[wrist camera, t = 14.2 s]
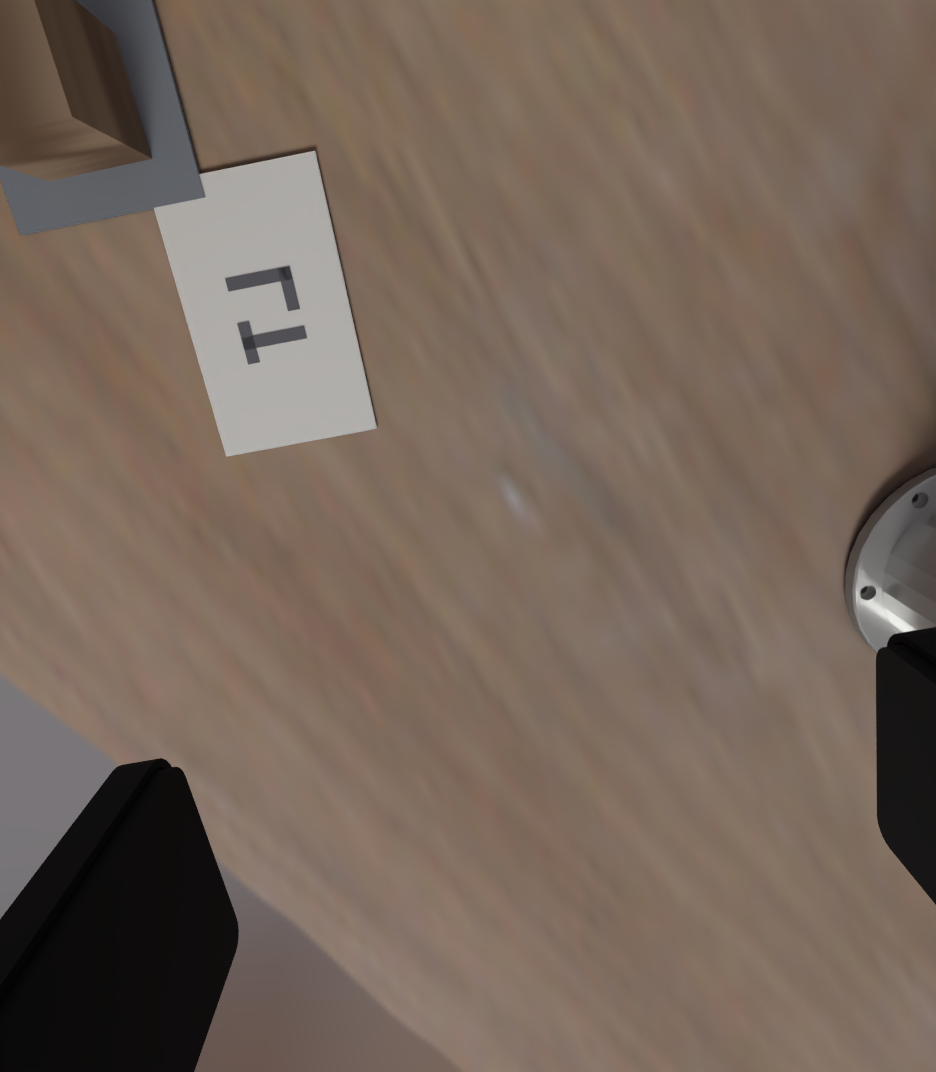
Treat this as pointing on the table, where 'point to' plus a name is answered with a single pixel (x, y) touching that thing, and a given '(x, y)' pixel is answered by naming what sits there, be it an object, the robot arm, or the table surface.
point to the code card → (268, 305)
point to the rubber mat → (173, 163)
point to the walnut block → (64, 93)
